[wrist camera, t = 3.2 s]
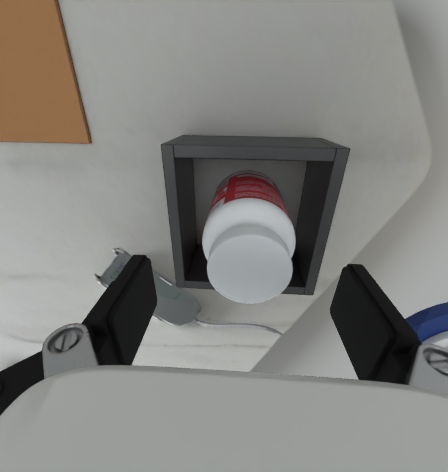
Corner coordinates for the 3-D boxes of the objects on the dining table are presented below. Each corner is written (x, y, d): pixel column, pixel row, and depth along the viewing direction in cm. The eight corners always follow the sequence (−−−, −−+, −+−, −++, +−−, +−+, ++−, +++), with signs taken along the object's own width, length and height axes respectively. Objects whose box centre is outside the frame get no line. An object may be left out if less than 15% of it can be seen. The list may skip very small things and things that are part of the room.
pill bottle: (220, 163, 21) (200, 210, 11) (287, 175, 21) (326, 233, 11) (210, 225, 24) (188, 304, 14) (269, 236, 24) (287, 322, 14)
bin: (321, 137, 19) (350, 148, 14) (298, 256, 25) (313, 295, 20) (182, 134, 20) (160, 144, 15) (190, 250, 26) (176, 287, 20)
